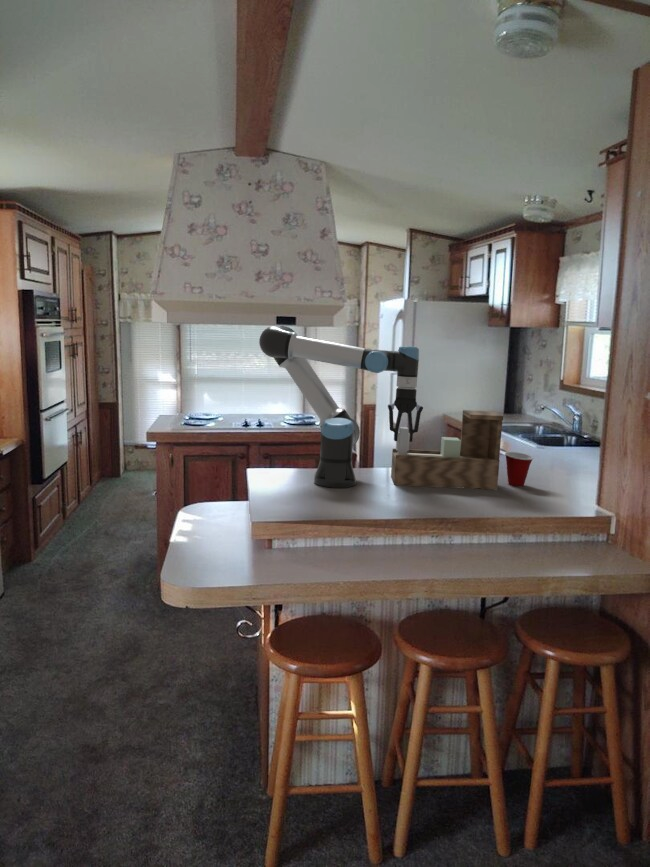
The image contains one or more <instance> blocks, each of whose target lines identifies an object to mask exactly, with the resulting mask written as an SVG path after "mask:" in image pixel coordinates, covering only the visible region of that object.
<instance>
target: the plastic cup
mask: <svg viewBox="0 0 650 867" xmlns="http://www.w3.org/2000/svg"><path fill="white" fill-rule="evenodd" d="M504 455H505V462H506V475H507V483H508V486H511V485H513V486H512V487H519V486H520V487H523V486H525V482H526V480H527V477H528V474H529V470H530V465H531V463H532V461H533V460H534V459H535V457H534V456H532V455H530V454H526V453H522V452H515V451H505V452H504Z"/></svg>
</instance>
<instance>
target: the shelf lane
mask: <svg viewBox="0 0 650 867" xmlns="http://www.w3.org/2000/svg"><path fill="white" fill-rule="evenodd" d="M503 420H504V415H502V414H501V413H498V412H496V411H490V410H489V411H488V410H470V409H469V410H468V409H463V410H462V418H461V430H460V440H461V446H460V458H454V457H433V456H412V455H399V454H398V451H397V450H396V448H392V455H391V457H392V458H391V469H390V470H391V471H390V472H391V473H390V477H391V481H392V483H393V485H394V486H404V487H405V486H409V487H429V488H431V487H432V488H447V487H464V488H463V489H468V488H482V489H481V490H489V489H497V490H498V482H499V481H498V480H499V470H500V455H501V454H500V453H501V442H502V431H503ZM440 452H441V450H429V449H411V448H409V451H407V453H417V454H438V455H440Z"/></svg>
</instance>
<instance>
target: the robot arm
mask: <svg viewBox="0 0 650 867" xmlns="http://www.w3.org/2000/svg"><path fill="white" fill-rule="evenodd" d="M258 344H259V347H260V350H261V351H262V353H263V354H265V356H267V357H270V358H273V359H274V360H275V362H276V364H277V365H278V366H279V368H281V369H282V368H284V369H285V370H286V372H287V373H288V374H289V376H290V377H291V379H292V381H293V382H294V383H295V385H296V386H297V388H298V389H299V391H300V392H301V393H302V395H303V397H304V398H305V399H306V401H307V402H308V405H309V406H310V408H312V410H313V411H314V413H315V415H316V416H317V417H318V419H319V420H320V421H319V427H320V448H319V449H320V453H319V457H320V458H319V463H318V466H317V468H316V472H315V473H314V478H313V480H314V481H313V482H314V484H315V485H318V486H320V487H326V488H333V489H334V488H335V489H338V488H339V489H341V488H343V489H344V488H351V487H353V486H355V485H356V482H357V481H356V474H355V472H354V468H353V463H352V462H353V446H355V445H356V444H357V442H358V440H359V438H360V433H361V432H360V426H359V424H358V423H357V421H356V420H355V419H353V418H352V417H351V416H350V415H349V413H348V412H347V410H346V408H342V407H339V405H338V404H337V402H336V401H335V399H334V398H333V397H332V395H331V394H330V392H329V391H328V389H327V388H326V387H325V385H324V383H323V381H321V378H320V377H319V375H317V373H316V371H315V370H314V369H313V367H312V366H311V364H310V363H309V361H308V360H310V361H317V362H321V363H326V364H330V365H331V364H332V365H336V366H341V367H347V368H354V369H357V370H364V371H368V372H371V373H374V374H380V373H382V372H386V371H387V372H397V375H396V390H395V400H394V401H393V402H392V403H391V404H387V409H388V411H389V412H388V413H389V418H388V419H389V430H390V431H391V432H393V433H394V434H393V441H394V442H395V443H396V444H395V445H396V446H395V449H396V450H397V451H399V440H400V433H399V427H400V425H401V420H402V416H403V414H405V413H406V414H407V424H408V429H409V431H408V446H407V451H409V449H410V443H412V442H413V437H414V434H415V433H419V432H418V431H419V425H420V419H421V415H422V414H421V413H422V411H423V409H424V407H423V406H422V405H420V404H418V402H417V389H416V388H417V387H418V374H419V364H420V363H419V361H420V350H419V348H418V347H417V346H409V345H408V346H407V345H400V346H399V347H398V350H385V349H384V350H383V349H382V350H381V349H370V348H365V347H364V348H363V347H359V346H353V345H349V344H342V343H337V342H334V341H333V342H332V341H326V340H321V339H317V338H316V339H315V338H312V337H311V338H310V337H304V336H299V335H298V334H297V332H296V331H295V330H294V329H292V328H290V327H289V326H284V325H279V326H278V325H271V326H269V327H267V328H265V329H264V330H263V331H262V332H261V333H260V336H259V341H258ZM395 408H396V409H397V411H398V412H397V417H396V421H395V426H394V411H393V410H394V409H395ZM415 408H416V409H415ZM413 410H416V415H415V421H414V427H413V417H412V413H413Z"/></svg>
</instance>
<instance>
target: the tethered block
mask: <svg viewBox="0 0 650 867" xmlns="http://www.w3.org/2000/svg"><path fill="white" fill-rule="evenodd" d="M398 432H399V433H400V440H399V451H398V454H399V455H412V456H433V457H454V458H460V446H461V438H459V437H454V436H453V437H450V436H441V440H440V441H441V442H440V451H441V452H440V455H438V454H417V453H407V446H408V433H409V427H408V426H399V430H398Z"/></svg>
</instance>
